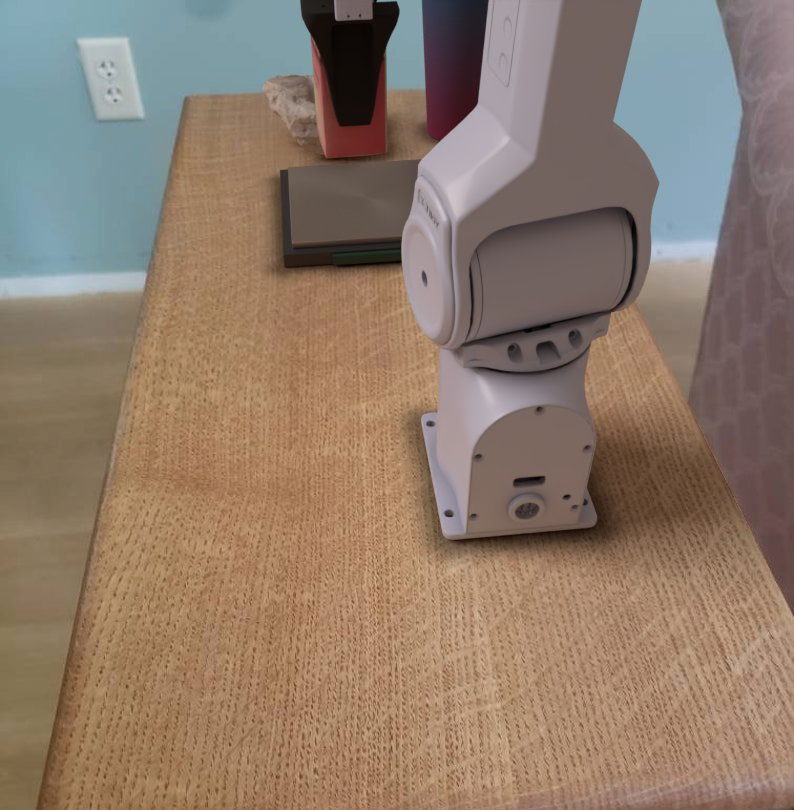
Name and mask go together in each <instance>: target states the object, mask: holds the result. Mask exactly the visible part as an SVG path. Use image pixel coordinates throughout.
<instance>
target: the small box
mask: <svg viewBox="0 0 794 810" xmlns="http://www.w3.org/2000/svg"><path fill="white" fill-rule="evenodd" d="M372 2H374V0H372ZM309 34H310V33H309ZM310 48H311V61H312V62H311V63H312V76H313V79H314V94H315V109H316V122H317V130H318V134H319V139H320V142H321V145H322V148H323V151H324V154H325V155H324V157H325V158H326V159H335V158H336V159H337V158H351V157H352V158H353V157H364V156H372V155H379V154H381V155H382V154H387V153H388V84H387V82H388V81H387V79H388V77H387V76H388V75H387V73H388V72H387V71H388V70H387V69H388V68H387V61H388V60H387V58H388V57H387V49H386V50H385V53H384V56H383V60H382V64H381V69H380V75H379V81H378V87H377V95H376V101H375V107H374V112H373V117H372V121H371V124H370V125H361V126H344V127H341V126H339V124H338V122H337V119H336V116H335V113H334V109H333V105H332V100H331V96H330V91H329V86H328V82H327V77H326V73H325V69H324V65H323V62H322V59H321V57H320V54H319V51H318V49H317V46H316V44H315V42H314V40H313V38H312V36H311V34H310Z"/></svg>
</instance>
